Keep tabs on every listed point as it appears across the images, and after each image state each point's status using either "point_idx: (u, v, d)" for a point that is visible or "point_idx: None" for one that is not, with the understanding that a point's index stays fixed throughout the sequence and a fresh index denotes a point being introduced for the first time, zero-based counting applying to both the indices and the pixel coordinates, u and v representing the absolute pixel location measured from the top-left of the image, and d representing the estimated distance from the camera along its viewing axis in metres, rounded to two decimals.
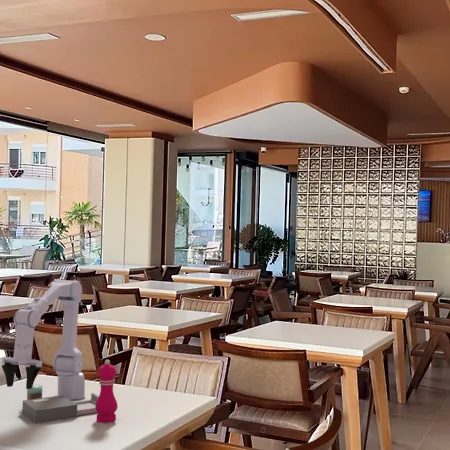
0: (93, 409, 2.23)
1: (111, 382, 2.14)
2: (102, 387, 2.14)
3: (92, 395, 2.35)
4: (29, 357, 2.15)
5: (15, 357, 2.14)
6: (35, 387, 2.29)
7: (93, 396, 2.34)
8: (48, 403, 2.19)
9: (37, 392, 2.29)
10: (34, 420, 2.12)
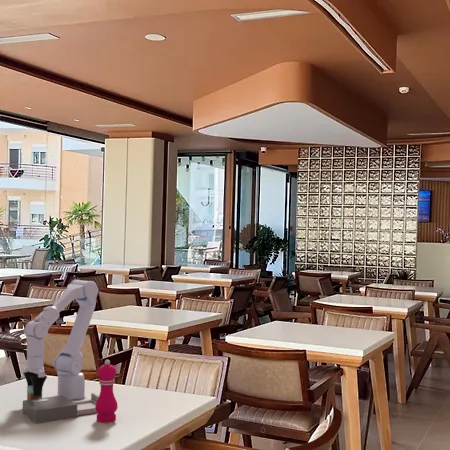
0: (93, 409, 2.23)
1: (111, 382, 2.14)
2: (102, 387, 2.14)
3: (92, 395, 2.35)
4: (37, 367, 2.29)
5: (26, 366, 2.30)
6: None
7: (93, 396, 2.34)
8: (48, 403, 2.19)
9: None
10: (34, 420, 2.12)
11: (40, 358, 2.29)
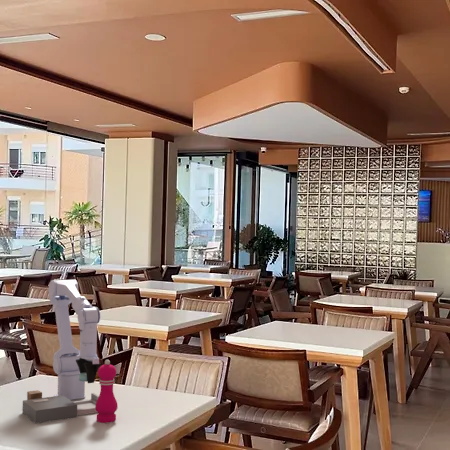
0: (93, 409, 2.23)
1: (111, 382, 2.14)
2: (102, 387, 2.14)
3: (92, 395, 2.35)
4: (91, 354, 2.26)
5: (80, 353, 2.27)
6: None
7: (93, 396, 2.34)
8: (48, 403, 2.19)
9: None
10: (34, 420, 2.12)
11: (93, 345, 2.27)
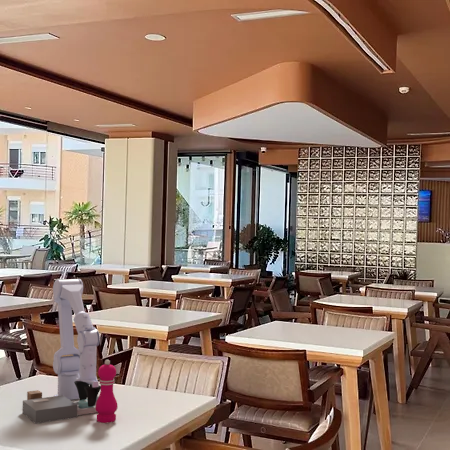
0: (93, 409, 2.23)
1: (111, 382, 2.14)
2: (102, 387, 2.14)
3: None
4: (90, 376, 2.26)
5: (79, 376, 2.27)
6: (86, 402, 2.26)
7: None
8: (48, 403, 2.19)
9: (88, 407, 2.26)
10: (34, 420, 2.12)
11: (93, 368, 2.27)
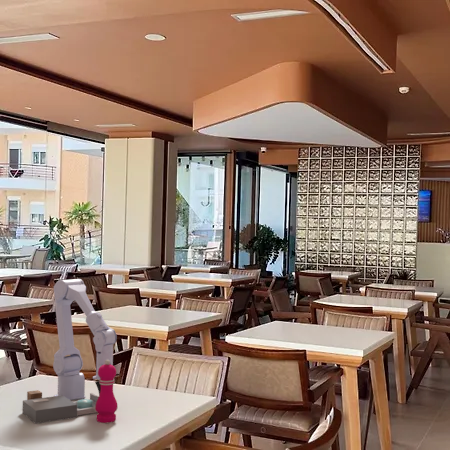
0: (92, 409, 2.23)
1: (111, 382, 2.14)
2: (102, 387, 2.14)
3: (91, 395, 2.35)
4: None
5: (96, 374, 2.31)
6: (85, 402, 2.26)
7: (92, 396, 2.34)
8: (48, 403, 2.19)
9: (88, 407, 2.26)
10: (34, 420, 2.12)
11: None
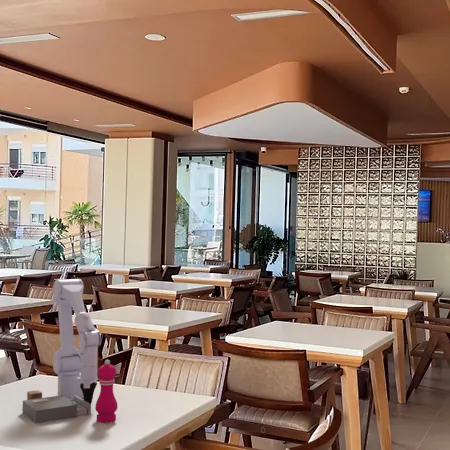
0: None
1: (111, 382, 2.14)
2: (102, 387, 2.14)
3: (75, 397, 2.32)
4: (87, 377, 2.26)
5: None
6: None
7: (76, 398, 2.31)
8: (48, 403, 2.19)
9: None
10: (34, 420, 2.12)
11: (91, 368, 2.26)
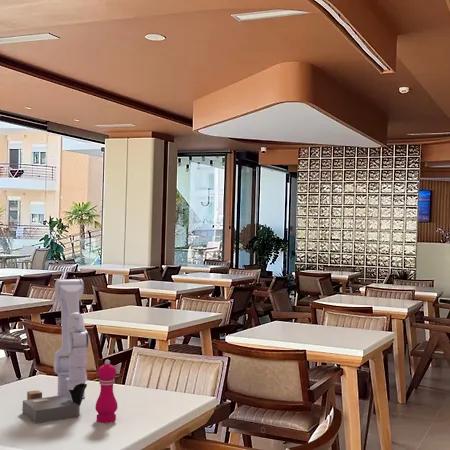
0: None
1: (111, 382, 2.14)
2: (102, 387, 2.14)
3: None
4: (74, 378, 2.23)
5: None
6: None
7: None
8: (48, 403, 2.19)
9: None
10: (34, 420, 2.12)
11: (77, 370, 2.23)
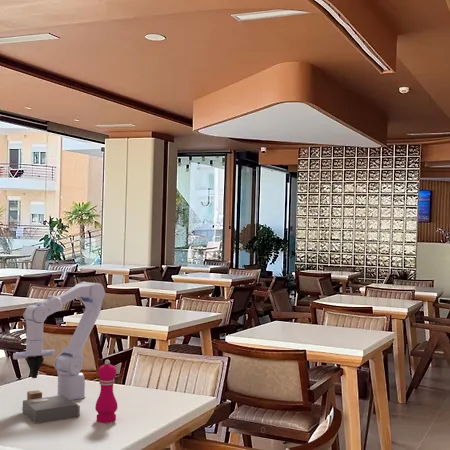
0: None
1: (111, 382, 2.14)
2: (102, 387, 2.14)
3: None
4: (26, 350, 2.30)
5: None
6: None
7: None
8: (48, 403, 2.19)
9: None
10: (34, 420, 2.12)
11: (28, 342, 2.29)
